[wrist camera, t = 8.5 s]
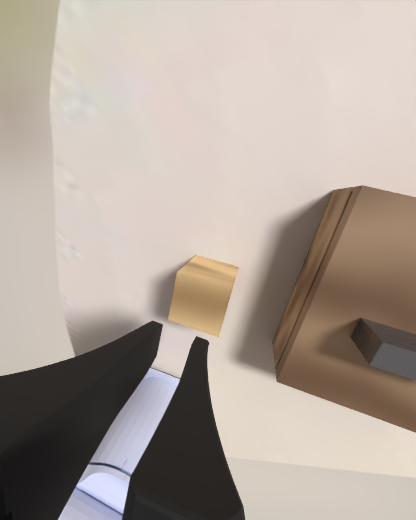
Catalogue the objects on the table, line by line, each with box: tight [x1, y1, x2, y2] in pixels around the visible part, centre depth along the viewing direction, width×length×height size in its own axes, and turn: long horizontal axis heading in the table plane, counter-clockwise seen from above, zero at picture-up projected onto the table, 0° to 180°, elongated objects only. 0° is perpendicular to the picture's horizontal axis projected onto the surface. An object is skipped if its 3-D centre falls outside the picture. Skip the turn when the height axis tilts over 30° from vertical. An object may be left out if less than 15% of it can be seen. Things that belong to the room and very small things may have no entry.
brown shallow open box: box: [273, 187, 354, 369], centre depth 16 cm, size 14×12×3 cm
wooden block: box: [168, 255, 238, 337], centre depth 18 cm, size 4×4×5 cm
